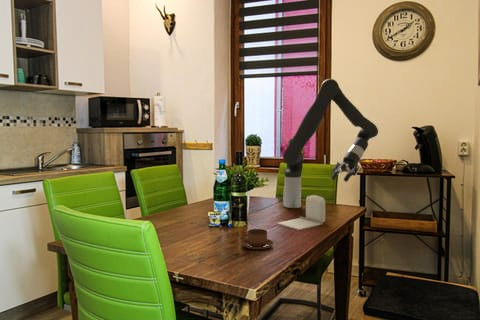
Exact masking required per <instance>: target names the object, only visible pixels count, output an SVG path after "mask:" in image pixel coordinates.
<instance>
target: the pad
mask: <svg viewBox="0 0 480 320" xmlns="http://www.w3.org/2000/svg"><path fill="white" fill-rule="evenodd" d="M276 224H277V225H279V226H284V227H287V228H291V229H294V230H297V231H300V230H304V229H310V228H314V227H318V226H323V224H324V222H321V221H317V220H313V219H309V218H306V216H299V218H294V219H293V218H292V219H288V220H285V221H284V220H283V221H280V222H276Z"/></svg>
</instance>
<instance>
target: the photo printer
mask: <svg viewBox="0 0 480 320" xmlns="http://www.w3.org/2000/svg"><path fill="white" fill-rule="evenodd" d="M305 218H309V219H313V220H317V221H321V222H323V223H325V221H326V200H325V198H324V197H322V196H320V195H316V194H311V195H308V196H307V197H306V199H305Z"/></svg>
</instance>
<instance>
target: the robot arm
mask: <svg viewBox="0 0 480 320" xmlns="http://www.w3.org/2000/svg"><path fill="white" fill-rule="evenodd" d="M331 102H334V104H336V106H337V107H338V108H339V109H340V110H341V112H342V114H343V115H344V116H345V118H346V119H347V120H348V121H349V122H350V123H351V125H352V126H354V127H356V128H360V130H359V131H358V133H357V135H356V139H354V142H353V144H352V145H351V146H350V147H349V149H348V151H347V152H346V153H345V155H344V157H343V159H342V161H341V163H340V162H339V161H337V162H336V163H335V165H334V166H333V168H332V169H331V171H332V172H333V173H332V175H331V176H330V179H331V180H332V181H335V180H336V178H337V177H338V175H339V174H342V173H345V172H346V174H345V176H344V178H343V181H344V182H349V179H350V178H351V177H352V176H353V177H354V176H356V174H357V173H358V171H359V170H360V168H361V166H360V165H359V162H360V160H361V159H362V157H363V155H364V153H365V152H366V150H367V149H368V146H369V142H368V141H369V140H370V139H373V138H375V137H376V136H378V134H379V129H378V127H377V125H376V124H375V123H374V122H372V121H371V120H369V119H368V118H366V117H365V116H364V115H363V114H362V112H361V111H360V110H359V109H358V108H357V107H356V106H355V105H354V104H353V103H352V102H351V101H350V100H349V99H348V97H347V96H346V95H345V94H344V93H343V91H342V89H341V87H340V85H339V83H338V82H337V80H336V79H333V78H327V79H325V80H323V81H322V83H321V86H320V89H319V91H318V94H317V96H316V98H315V100H314V101H313V103H312V105H311V106H310V107H309V109H308V110H307V111H306V113H305V114H304V116H303V118H302V120H301V122H300V124H299V126H298V128H297V131H296V132H295V134H294V136H293V139H292V140H291V142H290V143H289V144H288V146H287V147H286V149H285V151H284V152H283V155H282V159H283V161H284V163H285V164H286V169H285V170H284V189H283V191H282V198H283V199H282V206H283V207H285V208H289V209H299V208H301V206H302V199H301V198H302V172H303V166H304V165H303V163H304V157H303V149H304V147H305V146H306V144H307V143H308V142H309V141H310V139H312V137H313V136H314V135H315V134H316V132H317V130H318V128H319V126H320V125H321V123H322V121H323V118H324V116H325V113H326V111H327V109H328V107H329V105H330V103H331Z"/></svg>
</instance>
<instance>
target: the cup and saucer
mask: <svg viewBox="0 0 480 320" xmlns="http://www.w3.org/2000/svg"><path fill="white" fill-rule="evenodd" d="M245 237H247V238H245ZM244 238H245V239H244ZM241 240H242V241H241V245H242V246H243V247H245V248H247V249H248V250H249V249H250V250H255V249H256V250H257V251H258V250H260V249H261V250H267V249H270V248H271V247H272V246H273V245H274V241H272V240H271V239H268V231H267V230H266V229H262V228H261V229H260V228H253V229H249V230H248V231H247V233H245V234H242V236H241ZM247 244H249V245H250V246H252V247H250V246H246V245H247ZM266 244H267V245H269V246H266V247H263V246H265V245H266ZM261 250H260V251H261Z"/></svg>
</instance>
